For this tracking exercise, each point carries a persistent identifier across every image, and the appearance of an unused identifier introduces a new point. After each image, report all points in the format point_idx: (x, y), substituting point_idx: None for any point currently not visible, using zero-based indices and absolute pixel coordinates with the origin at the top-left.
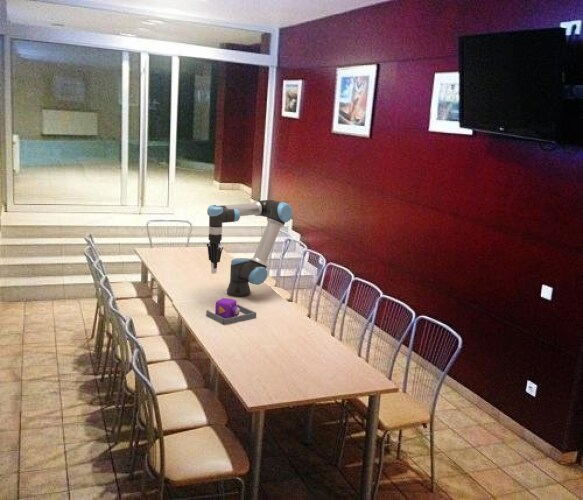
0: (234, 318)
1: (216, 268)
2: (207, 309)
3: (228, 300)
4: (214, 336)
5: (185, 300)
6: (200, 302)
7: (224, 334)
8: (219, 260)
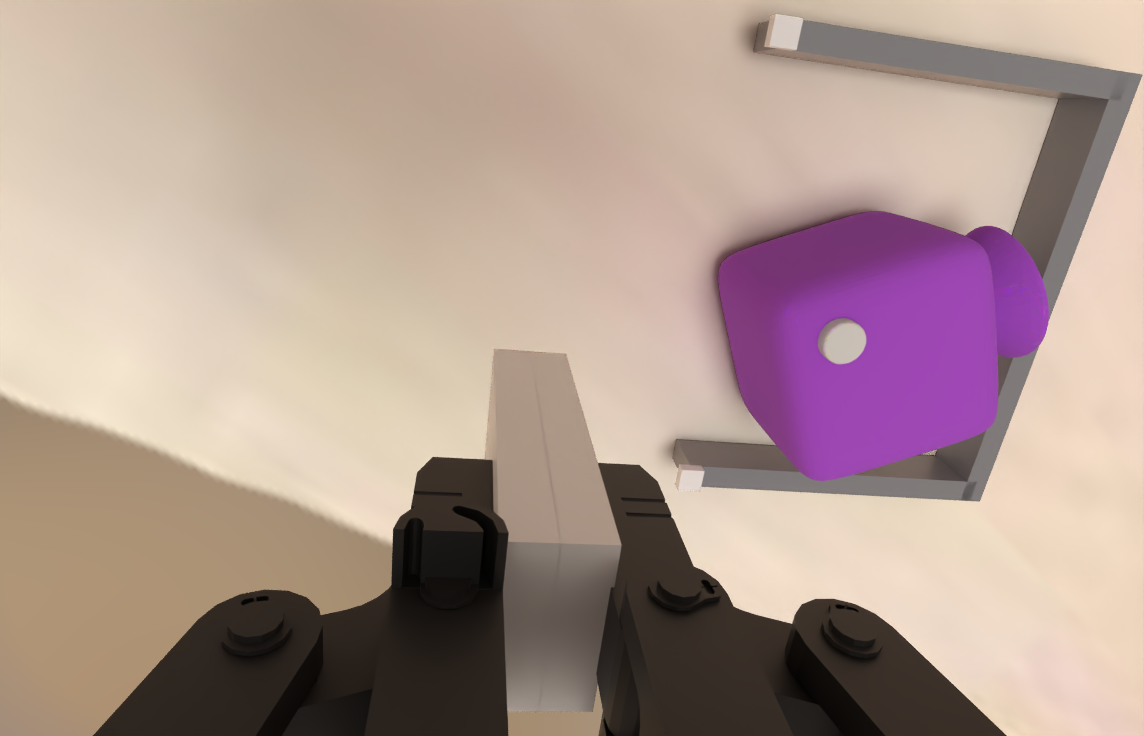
0: (1014, 388)
1: (581, 418)
2: (685, 472)
3: (934, 364)
4: (1023, 663)
5: (100, 321)
6: (265, 221)
7: (1060, 593)
8: (939, 712)
